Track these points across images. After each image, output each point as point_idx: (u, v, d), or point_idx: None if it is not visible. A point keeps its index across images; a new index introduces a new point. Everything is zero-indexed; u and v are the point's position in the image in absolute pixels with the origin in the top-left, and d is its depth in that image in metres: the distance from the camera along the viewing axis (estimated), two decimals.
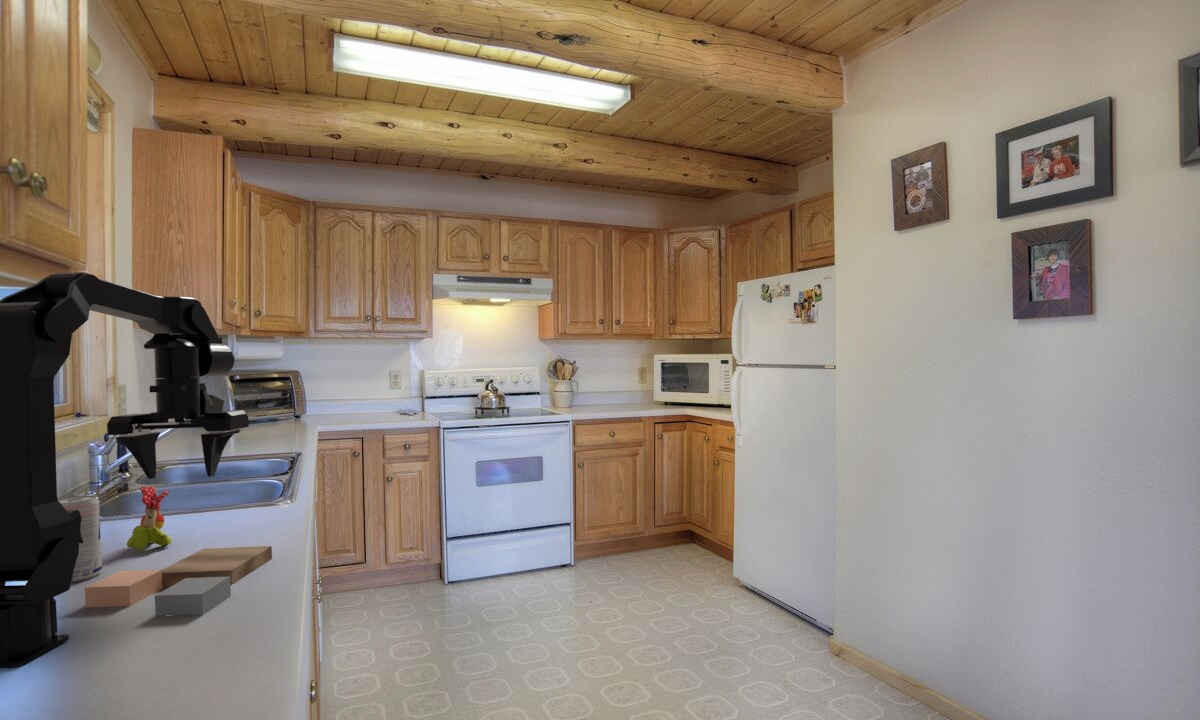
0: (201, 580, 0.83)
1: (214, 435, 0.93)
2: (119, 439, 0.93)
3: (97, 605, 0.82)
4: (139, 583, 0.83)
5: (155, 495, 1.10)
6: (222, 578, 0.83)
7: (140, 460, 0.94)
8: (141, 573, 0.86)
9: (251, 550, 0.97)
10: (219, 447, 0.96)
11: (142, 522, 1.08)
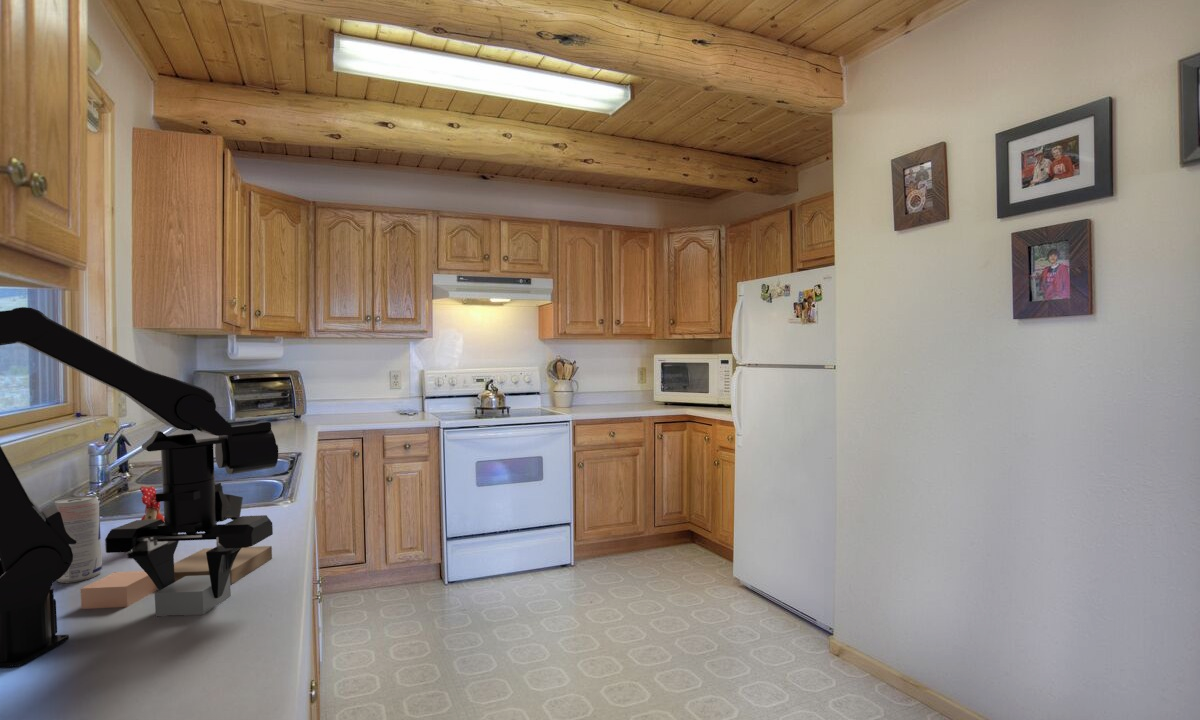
0: (201, 578, 0.83)
1: (222, 553, 0.78)
2: (132, 557, 0.78)
3: (93, 606, 0.81)
4: (135, 583, 0.83)
5: (155, 495, 1.10)
6: None
7: (156, 580, 0.79)
8: (137, 574, 0.86)
9: (251, 550, 0.97)
10: (228, 562, 0.81)
11: None
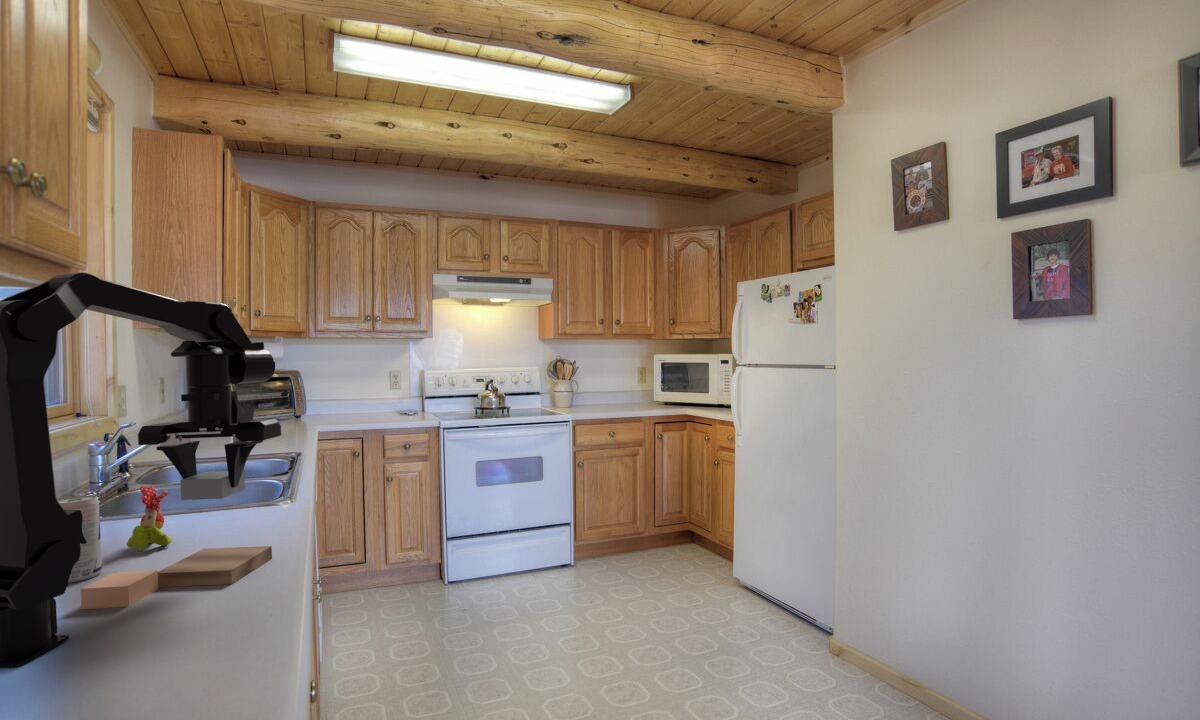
0: (219, 472, 0.95)
1: (238, 445, 0.90)
2: (161, 449, 0.90)
3: (94, 606, 0.81)
4: (136, 583, 0.83)
5: (155, 495, 1.10)
6: None
7: (181, 470, 0.92)
8: (137, 574, 0.86)
9: (251, 550, 0.97)
10: (242, 457, 0.94)
11: (142, 522, 1.08)
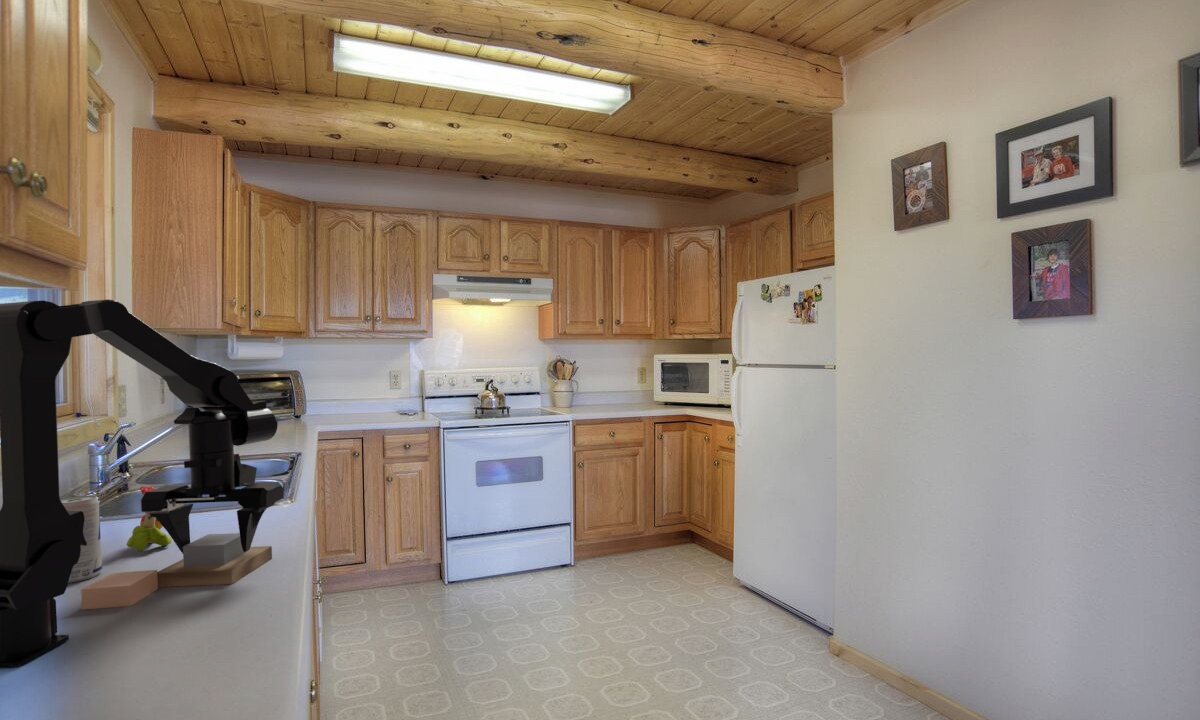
0: (221, 535, 0.96)
1: (250, 511, 0.91)
2: (154, 515, 0.91)
3: (95, 606, 0.81)
4: (137, 583, 0.83)
5: None
6: (239, 534, 0.96)
7: (174, 536, 0.92)
8: (137, 573, 0.86)
9: (251, 550, 0.97)
10: (254, 521, 0.94)
11: (142, 522, 1.08)
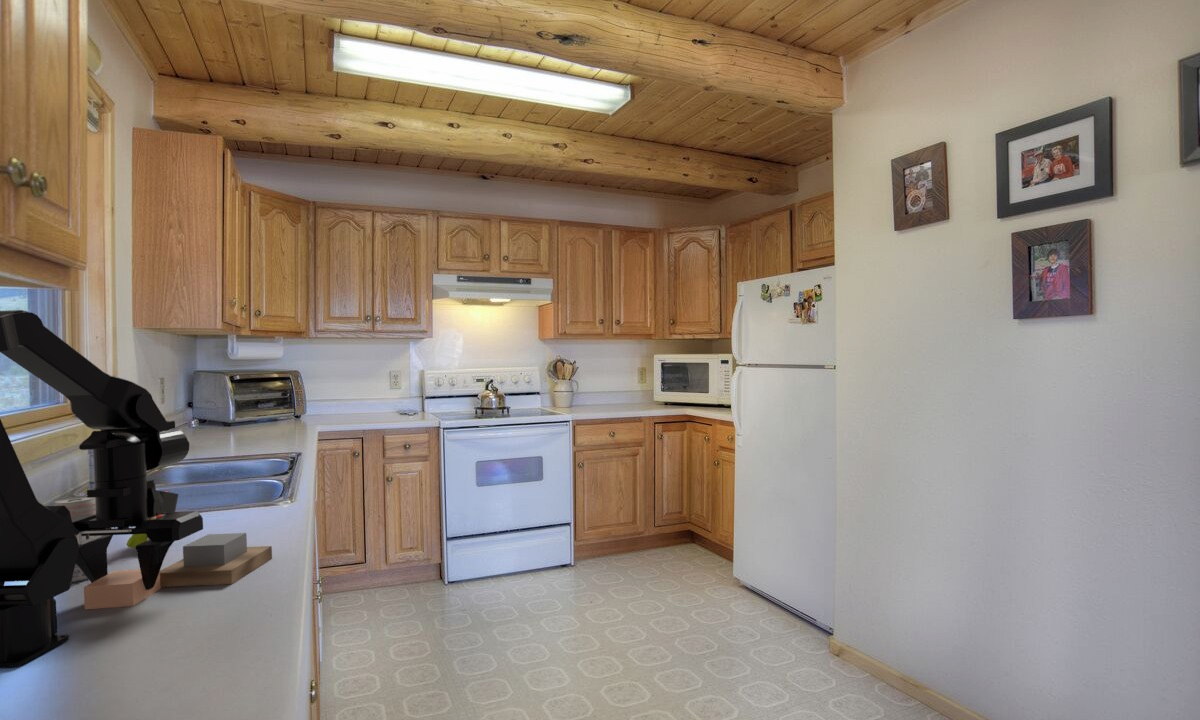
0: (221, 535, 0.96)
1: (151, 546, 0.82)
2: None
3: (97, 604, 0.81)
4: (140, 581, 0.83)
5: None
6: (239, 534, 0.96)
7: (88, 572, 0.83)
8: (139, 571, 0.86)
9: (251, 550, 0.97)
10: (159, 555, 0.85)
11: None
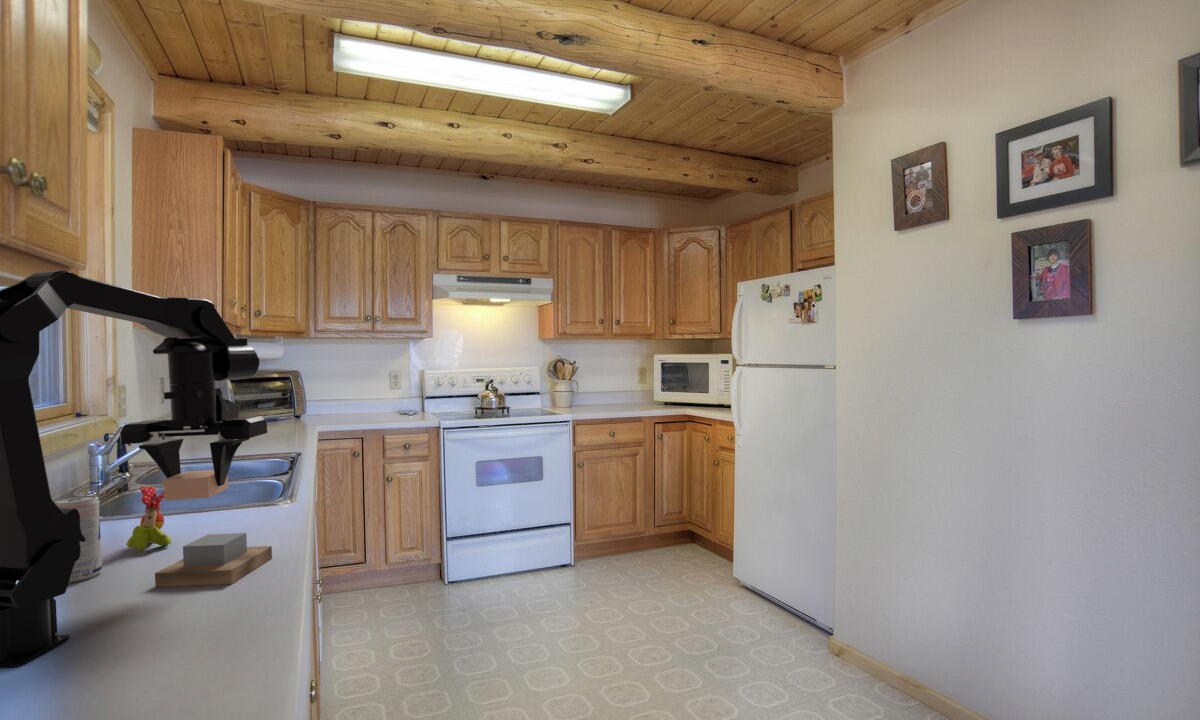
0: (221, 535, 0.96)
1: (224, 444, 0.89)
2: (143, 447, 0.89)
3: (176, 496, 0.89)
4: (213, 476, 0.91)
5: (155, 495, 1.10)
6: (239, 534, 0.96)
7: (165, 469, 0.90)
8: (210, 471, 0.94)
9: (251, 550, 0.97)
10: (229, 455, 0.93)
11: (142, 522, 1.08)
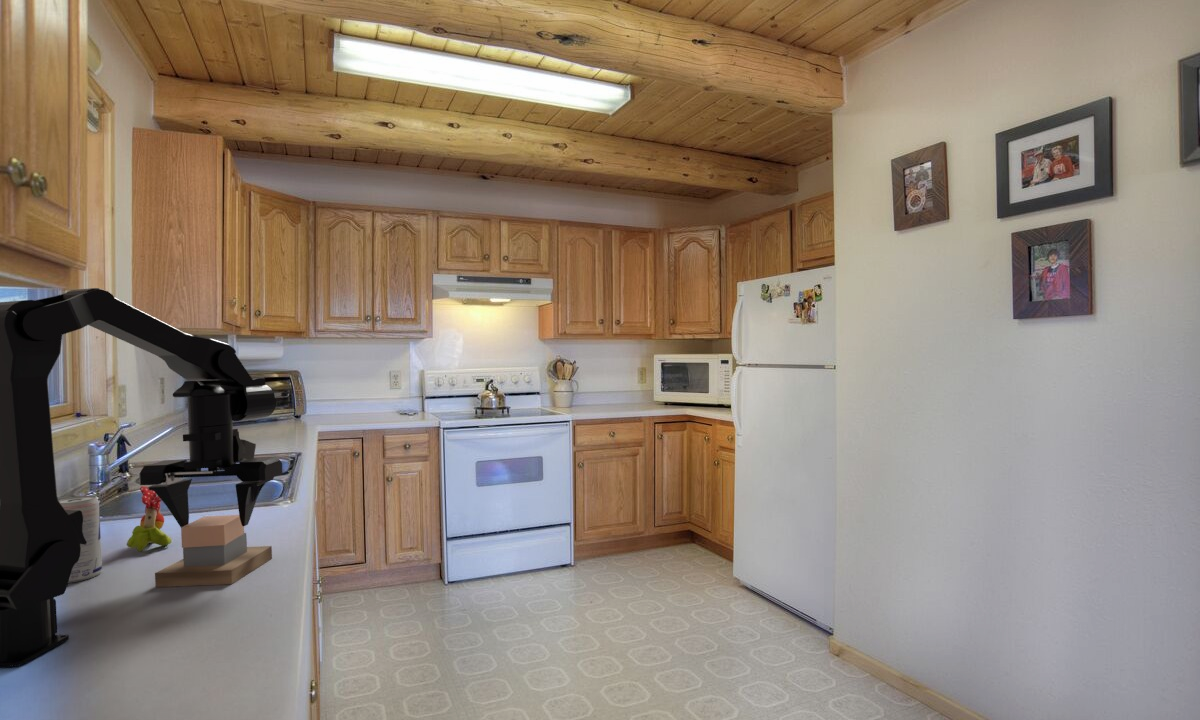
0: None
1: (249, 485, 0.91)
2: (152, 489, 0.91)
3: (193, 543, 0.90)
4: (229, 523, 0.92)
5: (155, 495, 1.10)
6: None
7: (173, 510, 0.92)
8: (226, 517, 0.95)
9: (251, 550, 0.97)
10: (253, 495, 0.94)
11: (142, 522, 1.08)
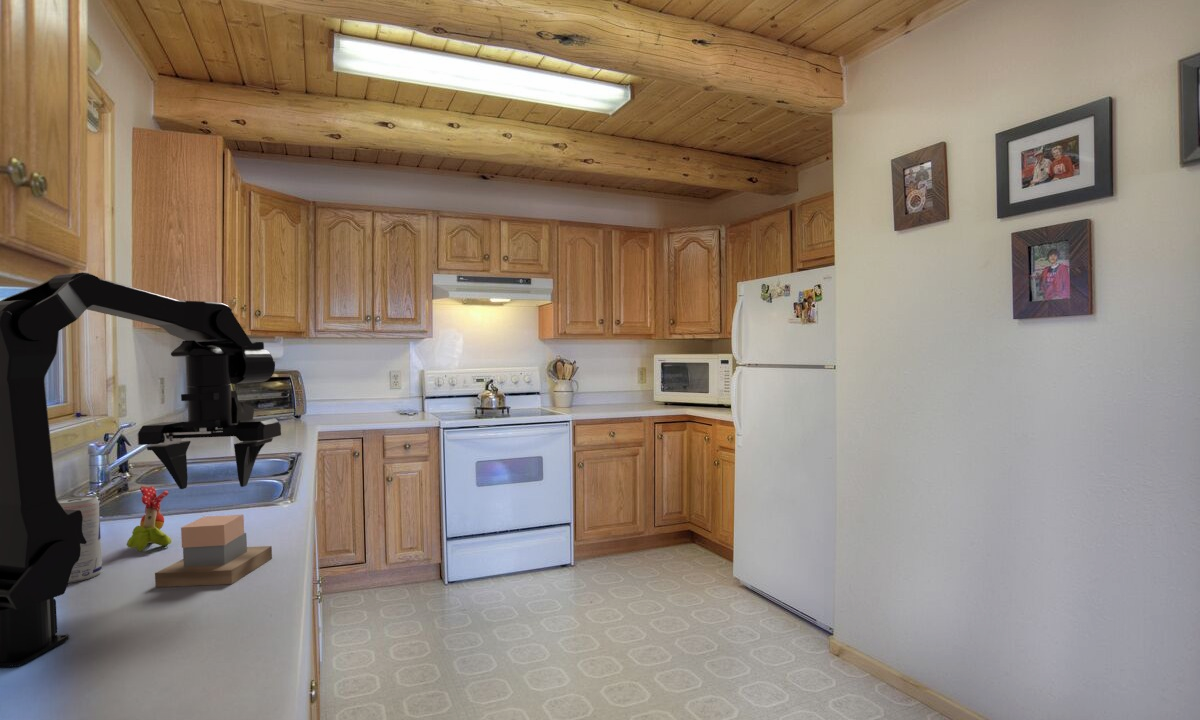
0: None
1: (247, 445, 0.91)
2: (151, 449, 0.90)
3: (193, 543, 0.90)
4: (229, 523, 0.92)
5: (155, 495, 1.10)
6: None
7: (172, 470, 0.92)
8: (226, 517, 0.95)
9: (251, 550, 0.97)
10: (252, 456, 0.94)
11: (142, 522, 1.08)
